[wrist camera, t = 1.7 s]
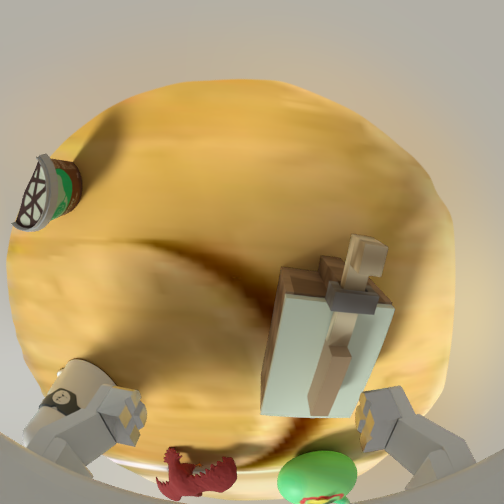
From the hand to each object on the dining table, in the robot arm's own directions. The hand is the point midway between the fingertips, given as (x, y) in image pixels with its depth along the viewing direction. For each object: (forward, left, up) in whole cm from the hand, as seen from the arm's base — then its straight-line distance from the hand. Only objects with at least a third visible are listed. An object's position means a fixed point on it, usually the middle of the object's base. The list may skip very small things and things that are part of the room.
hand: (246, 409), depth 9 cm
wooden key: (-3, -11, -22) cm, 25 cm away
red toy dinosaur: (-58, +9, -33) cm, 67 cm away
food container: (+2, +31, -33) cm, 45 cm away
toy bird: (-52, -21, -33) cm, 65 cm away
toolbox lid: (-15, -11, -25) cm, 31 cm away
